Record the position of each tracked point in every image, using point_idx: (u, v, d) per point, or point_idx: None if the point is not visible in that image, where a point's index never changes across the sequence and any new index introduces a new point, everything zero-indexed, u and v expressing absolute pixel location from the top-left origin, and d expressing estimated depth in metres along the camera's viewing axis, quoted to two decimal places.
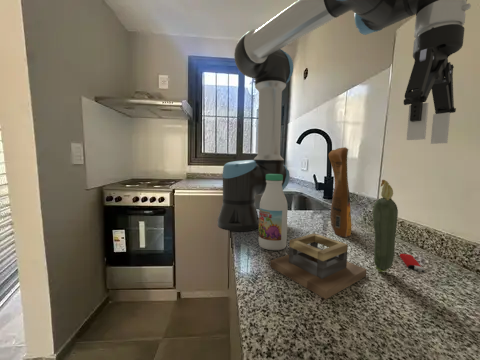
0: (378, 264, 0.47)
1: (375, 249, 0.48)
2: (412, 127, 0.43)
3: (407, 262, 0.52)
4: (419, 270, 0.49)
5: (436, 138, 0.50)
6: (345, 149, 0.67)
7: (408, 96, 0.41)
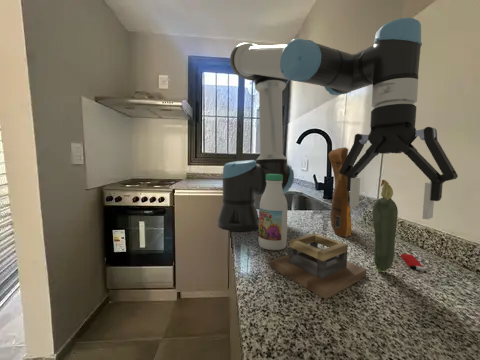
0: (378, 264, 0.47)
1: (375, 249, 0.48)
2: None
3: (409, 262, 0.52)
4: (421, 270, 0.49)
5: None
6: (345, 149, 0.67)
7: None
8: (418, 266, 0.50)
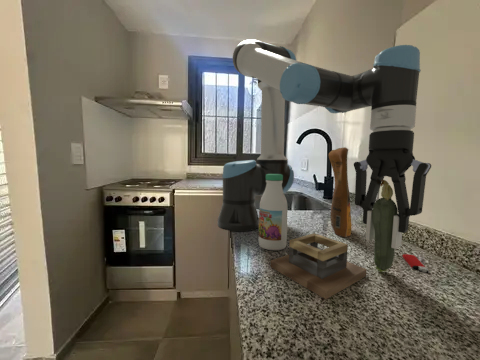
0: (378, 264, 0.47)
1: (375, 249, 0.48)
2: None
3: (411, 262, 0.52)
4: (423, 271, 0.49)
5: None
6: (345, 149, 0.67)
7: None
8: (420, 266, 0.50)
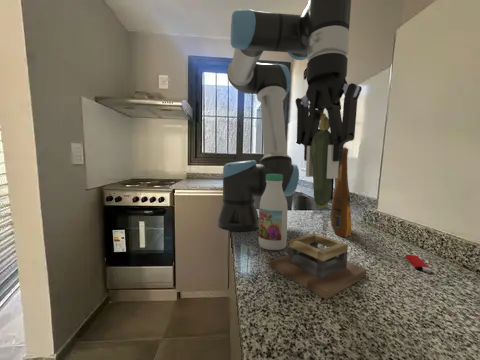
0: (316, 199, 0.46)
1: (313, 184, 0.47)
2: None
3: (414, 263, 0.52)
4: (428, 271, 0.48)
5: None
6: (345, 149, 0.67)
7: None
8: (424, 267, 0.49)
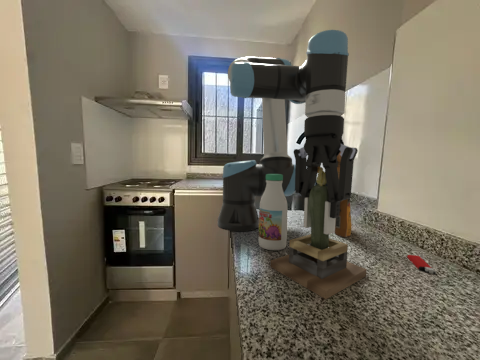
0: None
1: (311, 236, 0.48)
2: None
3: (417, 263, 0.51)
4: (430, 272, 0.48)
5: None
6: None
7: None
8: (427, 267, 0.49)
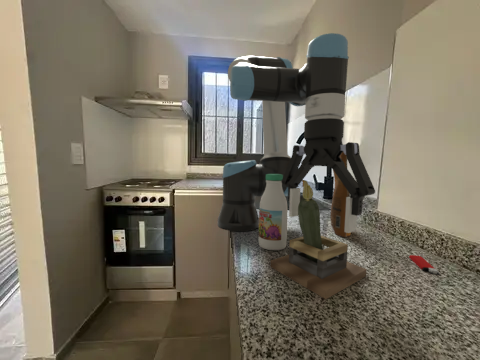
0: None
1: None
2: None
3: (420, 264, 0.51)
4: (434, 272, 0.48)
5: None
6: None
7: None
8: (430, 268, 0.49)
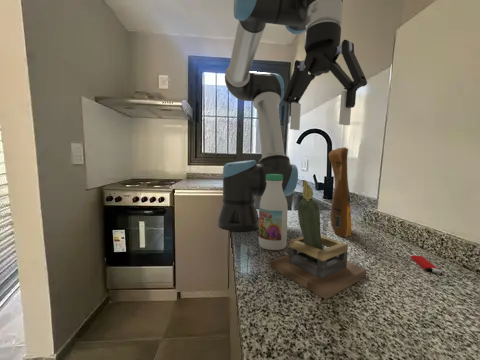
0: None
1: None
2: None
3: (423, 264, 0.51)
4: (438, 273, 0.48)
5: None
6: (345, 149, 0.67)
7: None
8: (434, 268, 0.49)
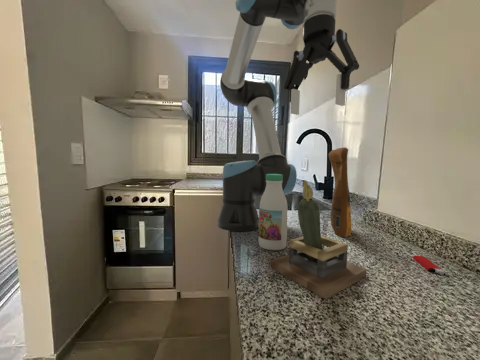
0: None
1: None
2: None
3: (425, 265, 0.51)
4: (441, 273, 0.48)
5: None
6: (345, 149, 0.67)
7: None
8: (437, 269, 0.49)
